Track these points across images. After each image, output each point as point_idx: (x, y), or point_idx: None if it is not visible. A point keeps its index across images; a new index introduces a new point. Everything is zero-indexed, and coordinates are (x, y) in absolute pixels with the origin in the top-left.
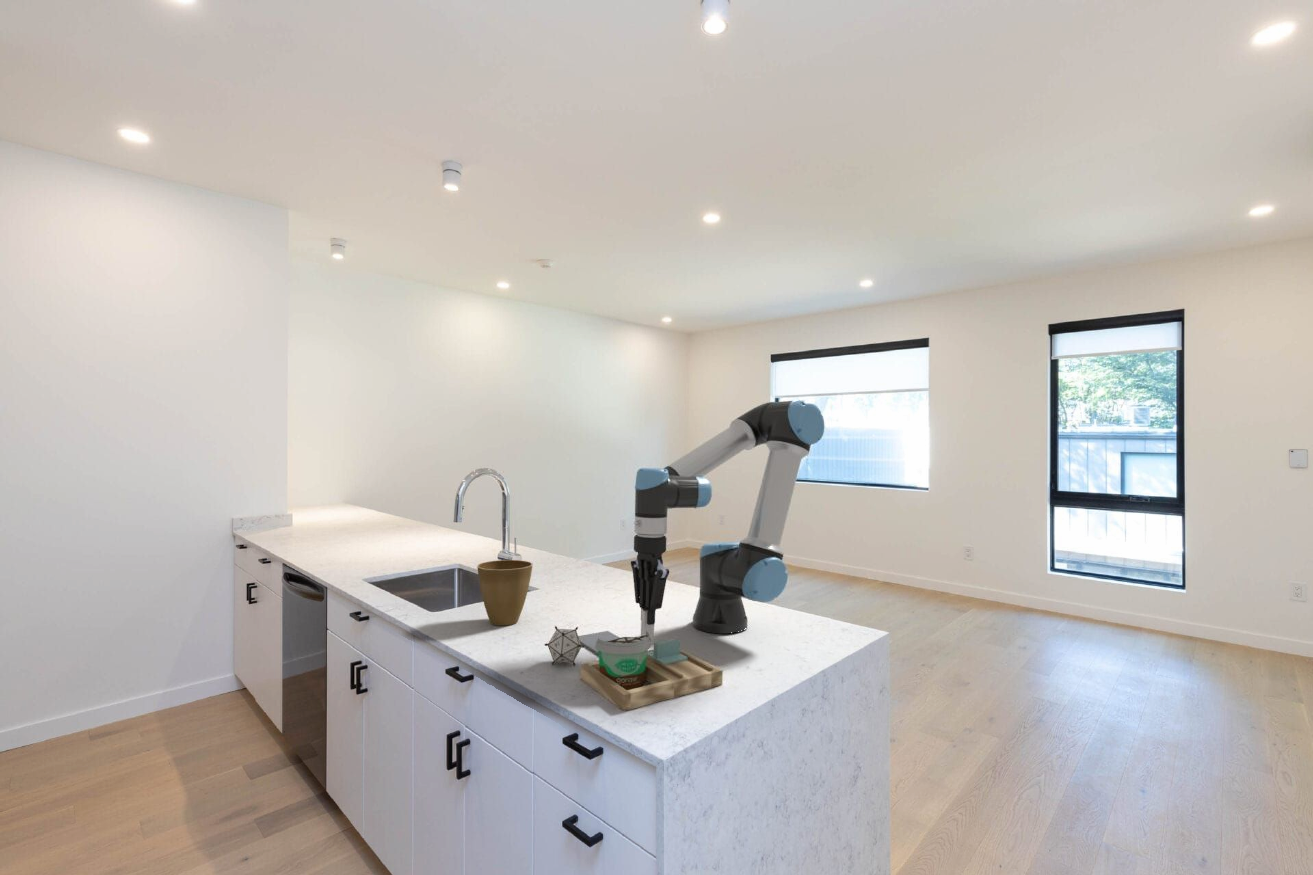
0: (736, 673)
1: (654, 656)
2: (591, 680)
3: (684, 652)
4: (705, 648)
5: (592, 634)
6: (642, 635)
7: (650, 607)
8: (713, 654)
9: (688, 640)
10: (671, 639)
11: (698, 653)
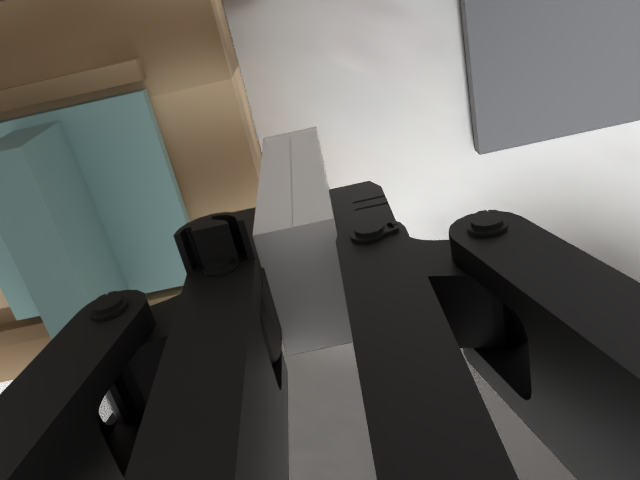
0: None
1: (46, 124)
2: None
3: None
4: (373, 465)
5: None
6: (288, 137)
7: (115, 295)
8: None
9: (513, 437)
10: (85, 302)
11: (320, 416)
